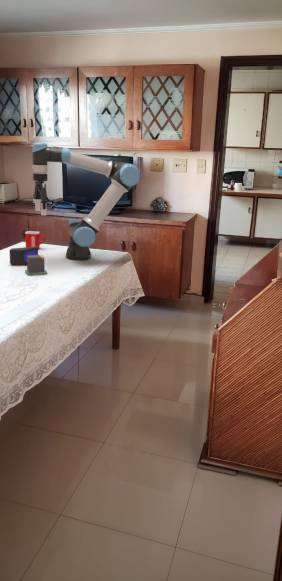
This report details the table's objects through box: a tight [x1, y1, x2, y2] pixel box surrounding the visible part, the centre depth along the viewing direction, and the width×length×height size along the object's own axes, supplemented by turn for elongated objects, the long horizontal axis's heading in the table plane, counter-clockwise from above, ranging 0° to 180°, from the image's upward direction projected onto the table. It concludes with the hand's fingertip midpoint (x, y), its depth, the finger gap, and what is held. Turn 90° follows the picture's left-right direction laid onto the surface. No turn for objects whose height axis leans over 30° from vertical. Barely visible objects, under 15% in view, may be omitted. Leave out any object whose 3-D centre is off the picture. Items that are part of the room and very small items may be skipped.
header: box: [24, 269, 48, 277], centre depth 236 cm, size 10×7×6 cm
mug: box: [24, 230, 46, 250], centre depth 285 cm, size 12×8×11 cm
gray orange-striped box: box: [26, 254, 46, 273], centre depth 235 cm, size 8×5×8 cm, turn 116°
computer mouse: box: [9, 246, 39, 267], centre depth 250 cm, size 16×5×9 cm, turn 123°
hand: (40, 213), depth 245 cm, fingers open, 13 cm apart
